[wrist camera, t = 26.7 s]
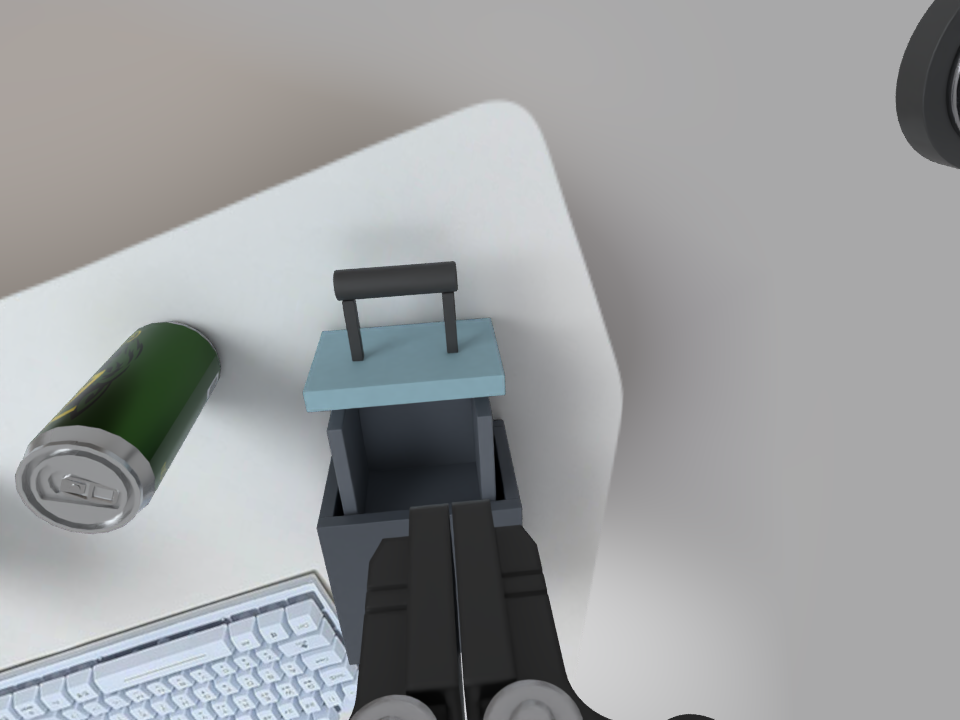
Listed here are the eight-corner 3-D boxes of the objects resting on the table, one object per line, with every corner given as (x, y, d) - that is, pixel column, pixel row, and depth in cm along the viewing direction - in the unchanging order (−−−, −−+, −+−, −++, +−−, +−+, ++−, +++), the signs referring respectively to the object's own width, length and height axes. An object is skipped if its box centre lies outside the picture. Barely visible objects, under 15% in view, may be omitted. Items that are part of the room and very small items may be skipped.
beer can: (233, 335, 36) (157, 461, 26) (212, 406, 38) (135, 549, 28) (137, 303, 35) (15, 423, 24) (121, 379, 37) (2, 520, 26)
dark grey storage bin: (335, 434, 40) (316, 528, 33) (503, 418, 41) (522, 508, 33) (361, 560, 46) (349, 665, 38) (507, 545, 46) (524, 645, 39)
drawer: (305, 249, 33) (281, 298, 27) (487, 235, 34) (501, 280, 28) (349, 472, 41) (337, 549, 35) (497, 458, 41) (510, 531, 35)
